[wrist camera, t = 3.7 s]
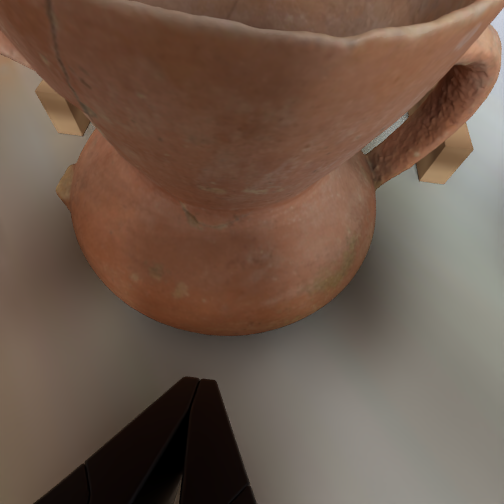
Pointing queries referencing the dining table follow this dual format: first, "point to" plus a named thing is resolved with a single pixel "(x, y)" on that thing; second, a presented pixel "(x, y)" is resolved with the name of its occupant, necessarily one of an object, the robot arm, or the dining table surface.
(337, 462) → the dining table surface
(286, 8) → the ceramic jug
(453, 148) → the stop board
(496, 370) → the dining table surface
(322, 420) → the dining table surface
